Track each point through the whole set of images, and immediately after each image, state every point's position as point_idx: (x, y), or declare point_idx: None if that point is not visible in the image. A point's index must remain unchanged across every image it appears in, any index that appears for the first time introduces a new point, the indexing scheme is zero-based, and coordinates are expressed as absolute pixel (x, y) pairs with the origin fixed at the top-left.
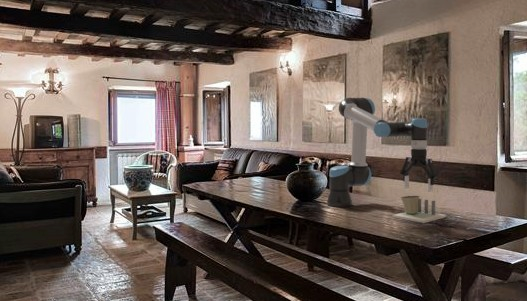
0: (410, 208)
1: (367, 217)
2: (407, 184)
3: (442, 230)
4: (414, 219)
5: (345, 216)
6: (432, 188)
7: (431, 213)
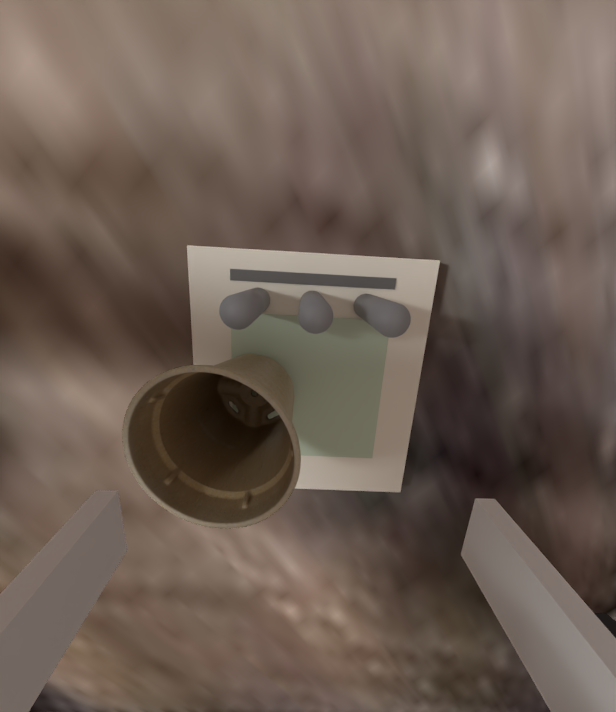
0: (266, 446)
1: None
2: (85, 572)
3: None
4: (341, 487)
5: None
6: (520, 530)
7: (343, 287)
